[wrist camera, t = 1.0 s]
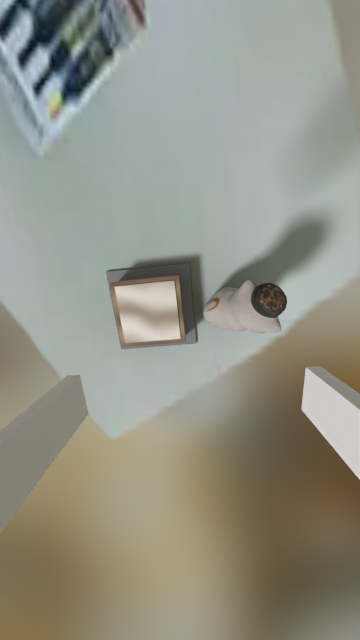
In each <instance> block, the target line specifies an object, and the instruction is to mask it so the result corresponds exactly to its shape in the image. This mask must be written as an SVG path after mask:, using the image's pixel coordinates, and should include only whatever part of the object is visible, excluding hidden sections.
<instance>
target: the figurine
mask: <svg viewBox="0 0 360 640" xmlns="http://www.w3.org/2000/svg"><path fill="white" fill-rule="evenodd" d="M286 304H287V299H286V296H285V294H284V292H283V291H282V290H281V288H280V287H278V286H276V285H274V284H271V283H266V284H261V285H259V286H257V285H256V284H255V283H254V282H253V281H251V280H249V279H248V280H246V281H245V282H244V283H243V284H242V286H241V287H240V288H232V287H224V288H222V289H220V290H219V291H218V292H216V293H215V294H214V295H213V297H212V298H211V299H210V300H209V301H208V302H207V304H206V306H205V308H204V310H203V315H204V318H205V320H206V321H208V322H210V323H212V324H214V325H216V326H217V327H219V328H221V329H225V330H237V331H244V330H246V329H248V330H250V331H252V332H256V333H266V332H271V333H276V332H279V331H281V325H280V322H279V320H278V315H280V314H281V313H282V312H283V311H284V310H285V308H286Z"/></svg>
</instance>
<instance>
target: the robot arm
mask: <svg viewBox="0 0 360 640" xmlns="http://www.w3.org/2000/svg"><path fill="white" fill-rule="evenodd" d="M302 410H303V412H304V413H305V414H306V415H307V416H308V418H309V419H310V420H311V421H312V423H313V424H314V425H315V426H316V427H317V429H318V430H319V431H320V432H321V433H322V435H323V436H324V437H325V438H326V439H327V441H328V442H329V443H330V444H331V445H332V447H333V448H334V449H335V450H336V451H337V453H338V454H339V455H340V456H341V457H342V458H343V460H344V461H345V462H346V464H348V466H349V467H350V468H351V470H352V471H353V472H354V473H355V474H356V476H357V477H358V478H359V479H360V394H359V393H357V392H356V391H354V390H353V389H352V388H350V387H349V386H347V385H346V384H344V383H343V382H342V381H340V380H338V379H337V378H336V377H335V376H333V375H332V374H330V373H329V372H327V371H326V370H325V369H323V368H322V367H306V371H305V381H304V392H303V400H302ZM87 415H88V410H87V405H86V401H85V396H84V392H83V387H82V383H81V378H80V375H71V376H67V377H65V378H64V379H63V380H62V381H61V382H59V383H58V384H57V385H56V386H55V387H53V388H52V389H51V390H50V391H48V392H47V393H46V394H45V395H43V396H42V397H41V398H40V399H39V400H37V401H36V402H35V403H34V404H32V405H31V406H30V407H29V408H28V409H26V410H25V411H24V412H23V413H21V414H20V415H19V416H18V417H17V418H15V419H14V420H13V421H12V422H10V423H9V424H8V425H7V426H6V427H4V428H3V429H2V430H1V431H0V533H1V532H2V530H3V529H4V528H5V526H6V525H7V524H8V522H9V521H10V519H11V518H12V517H13V515H14V514H15V513H16V511H17V510H18V509H19V507H20V506H21V505H22V503H23V502H24V500H25V499H26V498H27V496H28V495H29V494H30V492H31V491H32V490H33V488H34V487H35V486H36V484H37V483H38V481H39V480H40V479H41V477H42V476H43V474H44V473H45V472H46V471H47V469H48V468H49V466H50V465H51V464H52V462H53V461H54V460H55V458H56V457H57V455H58V454H59V453H60V452H61V450H62V449H63V448H64V446H65V445H66V443H67V442H68V441H69V439H70V438H71V437H72V435H73V434H74V433H75V431H76V430H77V429H78V427H79V426H80V424H81V423H82V421H83V420H84V419H85V418H86V416H87Z"/></svg>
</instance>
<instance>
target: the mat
mask: <svg viewBox="0 0 360 640" xmlns="http://www.w3.org/2000/svg"><path fill="white" fill-rule="evenodd" d="M106 274H107V279H108V284H109V289H110V294H111V299H112V304H113V298H112V293H111V288H110V283H109V282H117V281H126V280H136V279H145V278H155V277H164V276H174V275H180V281H181V291H182V301H183V311H184V321H185V331H186V342H181V343H168V344H156V345H143V346H130V347H122V345H121V340H120V334H119V329H118V324H117V319H116V314H115V309H114V304H113V309H114V315H115V320H116V325H117V330H118V335H119V340H120V345H121V349H130V348H142V347H155V346H168V345H181V344H194V343H196V333H195V321H194V309H193V298H192V286H191V274H190V263H182V264H173V265H164V266H154V267H145V268H136V269H127V270H118V271H109V272H106Z"/></svg>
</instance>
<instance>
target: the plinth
mask: <svg viewBox="0 0 360 640" xmlns="http://www.w3.org/2000/svg"><path fill="white" fill-rule="evenodd" d="M109 283H110V288H111V293H112V298H113V304H114V309H115V314H116V319H117V324H118V329H119V334H120V340H121V345H122V347H130V346H143V345H156V344H168V343H181V342H186V331H185V321H184V311H183V301H182V291H181V281H180V275H174V276H164V277H155V278H145V279H136V280H126V281H117V282H109Z"/></svg>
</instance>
